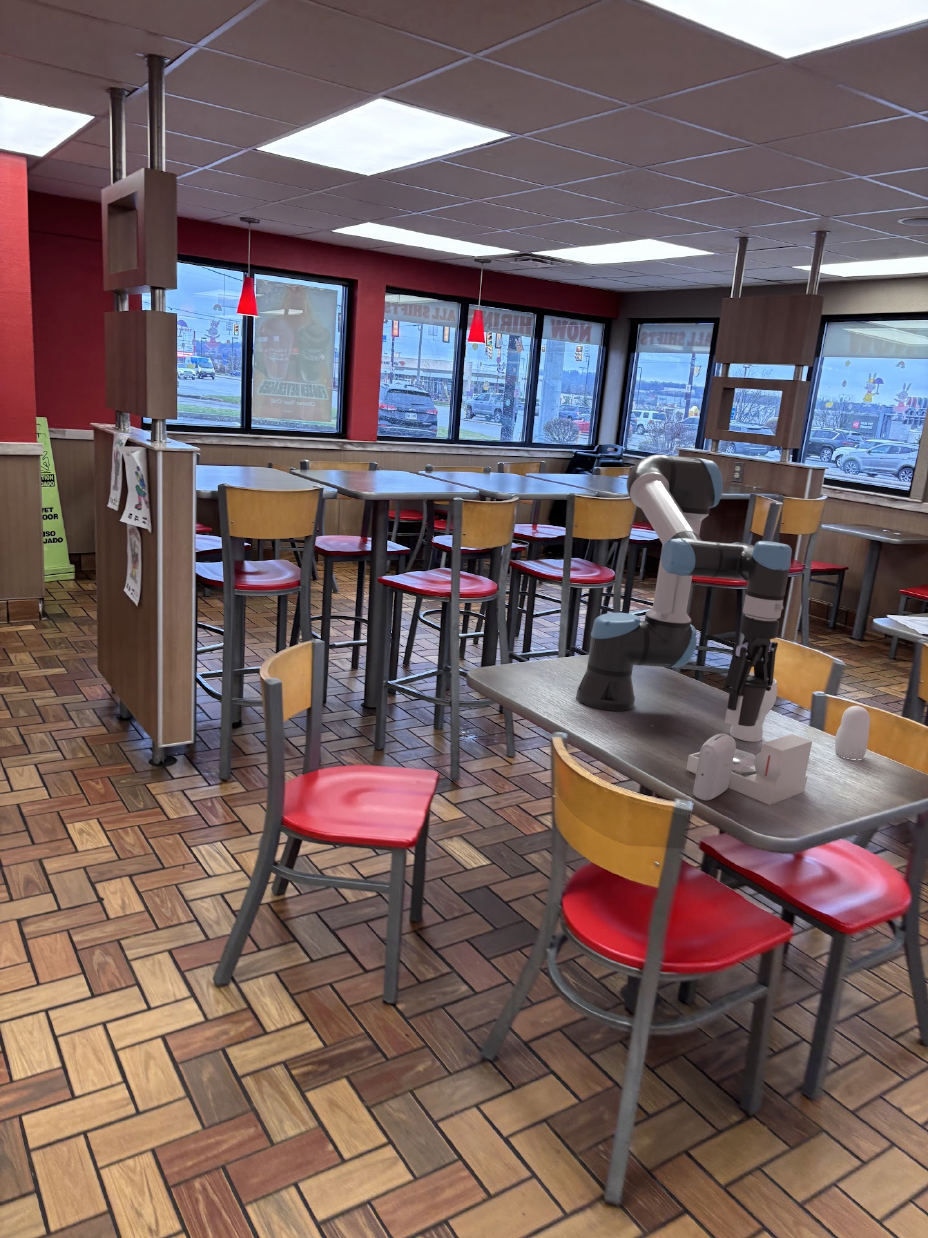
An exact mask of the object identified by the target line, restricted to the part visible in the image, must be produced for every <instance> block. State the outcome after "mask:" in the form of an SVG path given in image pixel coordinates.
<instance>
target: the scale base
mask: <svg viewBox="0 0 928 1238" xmlns="http://www.w3.org/2000/svg"><path fill="white" fill-rule="evenodd" d="M812 744H813V740H810V739H807V738H805V737H802V736H799V735H796V734H793V733H791V734H789V735H785V736H782V737H781V736H780V737H779V738H775V739H771V740H768V741H766V742H762V743H761V748H760V752H758V753H757V754H756V757H755V760H754V766H755V770H756V772H757V773H756V774H736V773H734V772H731V776H730V782H729V786H728V789H731V790H732V791H735V792H738V793H741V794H742V795H745V796H747V797H750V798H752V799H754V800H756V801H760V802H761V803H763V804H766V805H768V806H771V805H773V804H777V803H779V802H781V801H783V800H786V799H789V798H791V797H794V796H797V795H798V794H801V793H804V792H806V786H807V782H808V781H807V780H808V776H807V770H808V766H809V759H810V754H811V749H812V746H813V745H812ZM699 754H700V751H698V752H695V753H691V754H688V758H687V763H686V768H685V769H686V771H688V772H691V773H693V774H695V775H696V772H697V766H698V760H699Z"/></svg>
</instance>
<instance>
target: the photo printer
mask: <svg viewBox="0 0 928 1238" xmlns="http://www.w3.org/2000/svg"><path fill="white" fill-rule="evenodd" d="M736 746H737V743H736V740H735V737H733V736H731V735H730V734H727V733H717V734H715V735H713V736H711V737H710V738H708V739H707V740H706V741H705V742H704V743H703V744H702V746H701V747H700V750H699V752H700V754H699V760H698V766H697V772H696V774H695V780H694V785H693V790H692V795H693V796H694V797H696V798H697V799H699V800H702V801H712V800H713V799H715V798H717V797H718V796H720V795H721V794H723V793H725V792H726V791H727V790H728V789H729V788H728V786H729V782H730V776H731V771H732V765H733V759H734V753H735V749H737V747H736Z"/></svg>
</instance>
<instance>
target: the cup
mask: <svg viewBox="0 0 928 1238" xmlns="http://www.w3.org/2000/svg"><path fill="white" fill-rule="evenodd" d="M749 675H752V676H754V672H750V673H749ZM769 687H771V690H770V691H767V690H766V691H765V695H764V700H763V706H762V711H761V717H760V720H756V723H755V725H754V726H741V725H738V726H733V725H731V726H730V731H729V735H730V736H732V737H733V738H734V739H738V740H740V741H741V740H742V741H745V742H751V743H752V742H755V743H759V742H761V741H762V740H763V733H764V732H763V731H764V728H763V727H764V726H763V725H764V721H765V719H766V716H767V715H768V714H769V713H770V711H771V710H772V709H773V707H774V705H775V703H776V700H777V695H778V680H777V679H775V678H774V677H773V684H772V686H769Z"/></svg>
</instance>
